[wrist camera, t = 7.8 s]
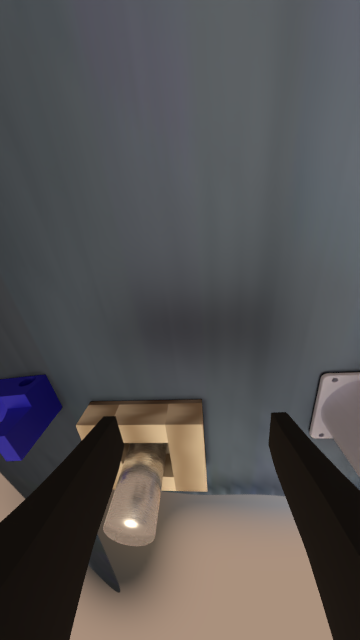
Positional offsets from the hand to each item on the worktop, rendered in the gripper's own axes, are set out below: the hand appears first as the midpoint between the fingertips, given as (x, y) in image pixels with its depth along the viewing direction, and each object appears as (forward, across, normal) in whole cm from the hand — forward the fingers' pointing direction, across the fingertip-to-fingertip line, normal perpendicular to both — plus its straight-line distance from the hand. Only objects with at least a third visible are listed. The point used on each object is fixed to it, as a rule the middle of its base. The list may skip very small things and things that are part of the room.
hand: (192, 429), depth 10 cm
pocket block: (+9, +6, +12) cm, 16 cm away
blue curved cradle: (+10, +21, +6) cm, 24 cm away
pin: (+9, +6, +12) cm, 16 cm away
